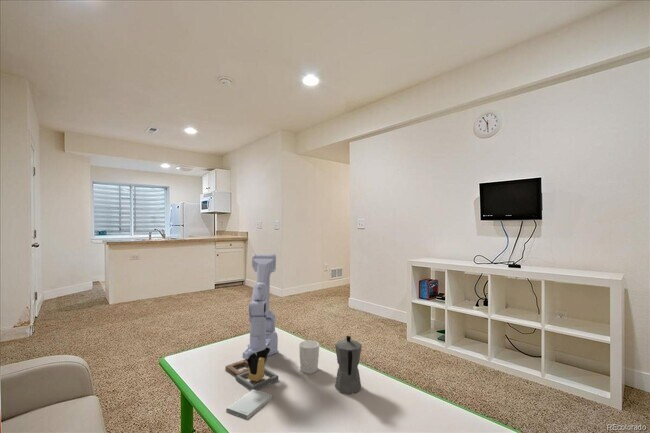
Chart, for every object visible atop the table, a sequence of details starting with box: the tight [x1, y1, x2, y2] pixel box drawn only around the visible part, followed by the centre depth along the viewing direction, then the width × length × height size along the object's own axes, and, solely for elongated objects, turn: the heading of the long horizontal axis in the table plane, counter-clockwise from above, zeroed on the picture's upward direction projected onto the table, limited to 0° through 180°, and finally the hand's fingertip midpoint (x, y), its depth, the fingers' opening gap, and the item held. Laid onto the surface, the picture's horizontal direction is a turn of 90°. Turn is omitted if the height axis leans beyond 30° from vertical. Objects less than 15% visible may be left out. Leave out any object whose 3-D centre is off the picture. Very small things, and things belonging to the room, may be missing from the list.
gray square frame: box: [235, 367, 279, 391], centre depth 114 cm, size 11×11×2 cm
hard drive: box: [225, 389, 273, 420], centre depth 99 cm, size 2×8×12 cm
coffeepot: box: [334, 335, 363, 395], centre depth 109 cm, size 15×9×18 cm, turn 179°
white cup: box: [298, 339, 320, 374], centre depth 123 cm, size 8×8×10 cm
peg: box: [248, 357, 265, 383], centre depth 114 cm, size 4×4×7 cm
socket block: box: [224, 359, 249, 378], centre depth 121 cm, size 9×9×2 cm
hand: (257, 371), depth 114 cm, fingers closed on peg, 4 cm apart
